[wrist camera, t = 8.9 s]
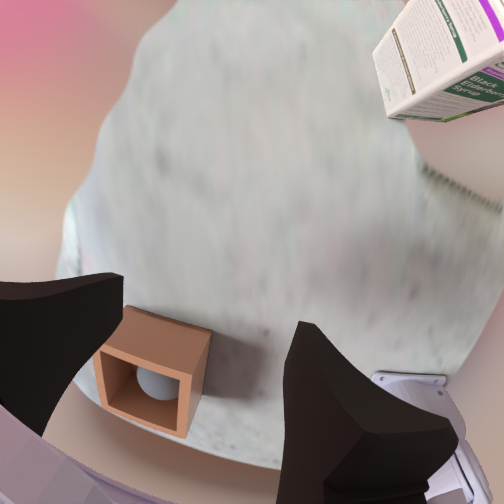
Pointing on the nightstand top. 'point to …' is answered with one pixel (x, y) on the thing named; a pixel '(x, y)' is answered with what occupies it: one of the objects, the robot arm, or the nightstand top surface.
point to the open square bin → (153, 369)
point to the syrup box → (442, 59)
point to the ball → (158, 384)
